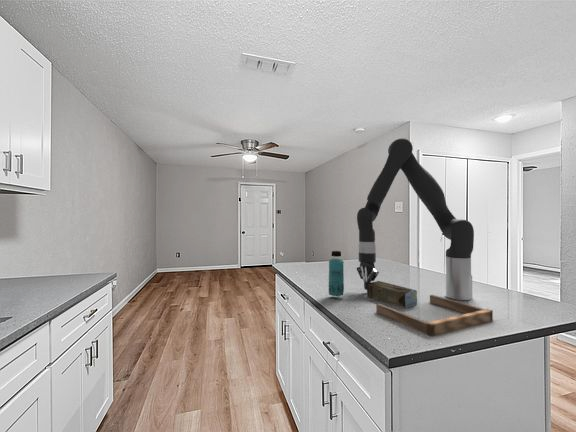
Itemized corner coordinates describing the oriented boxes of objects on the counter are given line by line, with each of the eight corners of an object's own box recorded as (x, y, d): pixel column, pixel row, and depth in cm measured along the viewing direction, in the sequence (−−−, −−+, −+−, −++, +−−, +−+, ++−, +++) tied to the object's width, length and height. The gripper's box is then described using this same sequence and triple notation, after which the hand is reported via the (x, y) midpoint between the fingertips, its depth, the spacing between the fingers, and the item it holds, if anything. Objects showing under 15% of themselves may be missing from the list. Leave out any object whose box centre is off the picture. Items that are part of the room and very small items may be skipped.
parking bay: (432, 302, 113) (432, 293, 113) (492, 320, 93) (492, 310, 93) (376, 312, 101) (376, 302, 101) (431, 336, 81) (431, 324, 81)
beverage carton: (405, 309, 106) (405, 291, 106) (365, 297, 122) (365, 282, 122) (417, 305, 110) (417, 288, 110) (378, 294, 126) (377, 279, 126)
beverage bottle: (326, 295, 123) (326, 250, 123) (341, 295, 124) (341, 249, 124) (330, 300, 117) (330, 252, 117) (346, 299, 117) (345, 251, 117)
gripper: (383, 252, 123) (384, 292, 123) (364, 249, 135) (364, 285, 135) (370, 253, 120) (370, 294, 120) (351, 250, 132) (351, 287, 132)
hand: (367, 289), depth 127 cm, fingers closed
